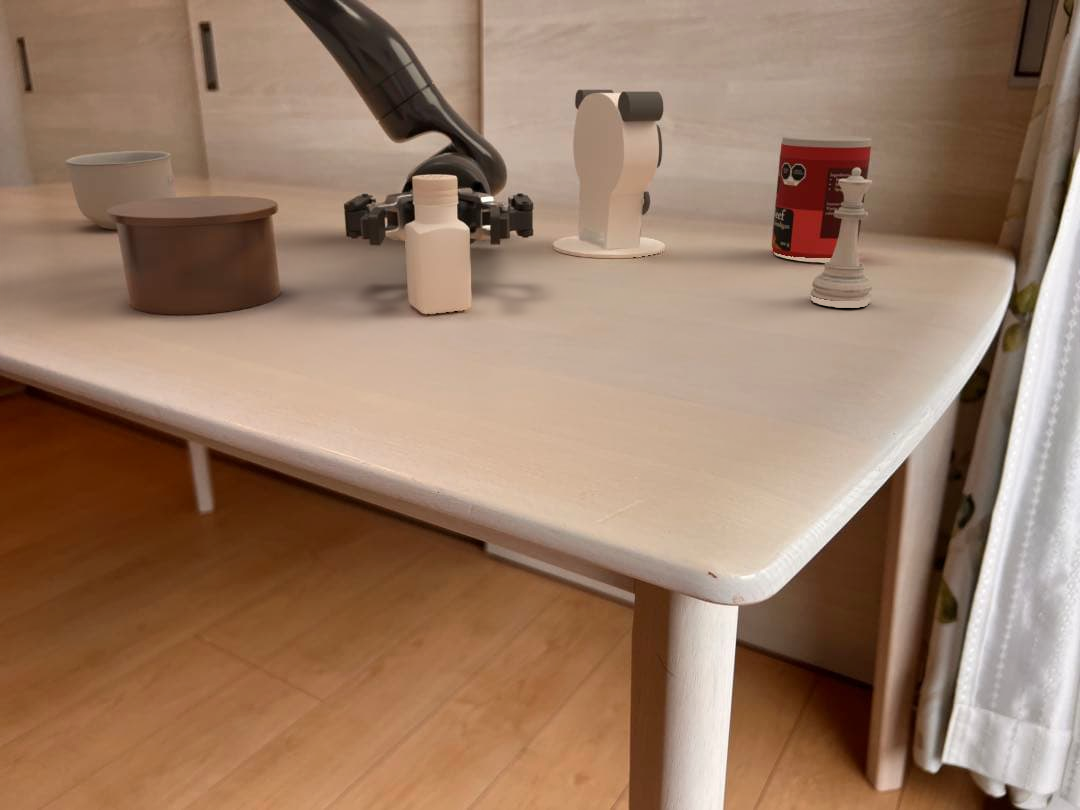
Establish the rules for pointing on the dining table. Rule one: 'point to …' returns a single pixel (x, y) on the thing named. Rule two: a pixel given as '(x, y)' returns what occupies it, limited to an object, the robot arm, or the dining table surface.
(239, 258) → the walnut stand
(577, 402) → the dining table surface
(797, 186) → the canned food
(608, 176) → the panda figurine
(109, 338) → the dining table surface
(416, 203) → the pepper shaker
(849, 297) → the chess piece
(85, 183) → the teacup
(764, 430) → the dining table surface
